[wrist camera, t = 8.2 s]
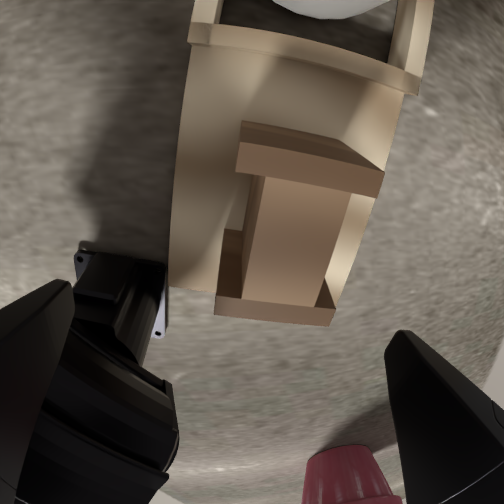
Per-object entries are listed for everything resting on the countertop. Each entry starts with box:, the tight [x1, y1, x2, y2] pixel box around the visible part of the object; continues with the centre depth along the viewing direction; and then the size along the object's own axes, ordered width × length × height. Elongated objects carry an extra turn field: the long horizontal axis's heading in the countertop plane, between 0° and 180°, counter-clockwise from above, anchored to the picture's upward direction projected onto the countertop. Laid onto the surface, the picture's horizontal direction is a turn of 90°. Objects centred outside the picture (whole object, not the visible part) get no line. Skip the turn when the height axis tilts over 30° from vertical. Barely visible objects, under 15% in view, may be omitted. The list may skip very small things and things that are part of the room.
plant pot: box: [301, 445, 402, 504], centre depth 31 cm, size 14×14×13 cm
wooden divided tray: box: [168, 0, 434, 327], centre depth 12 cm, size 25×11×7 cm, turn 170°
